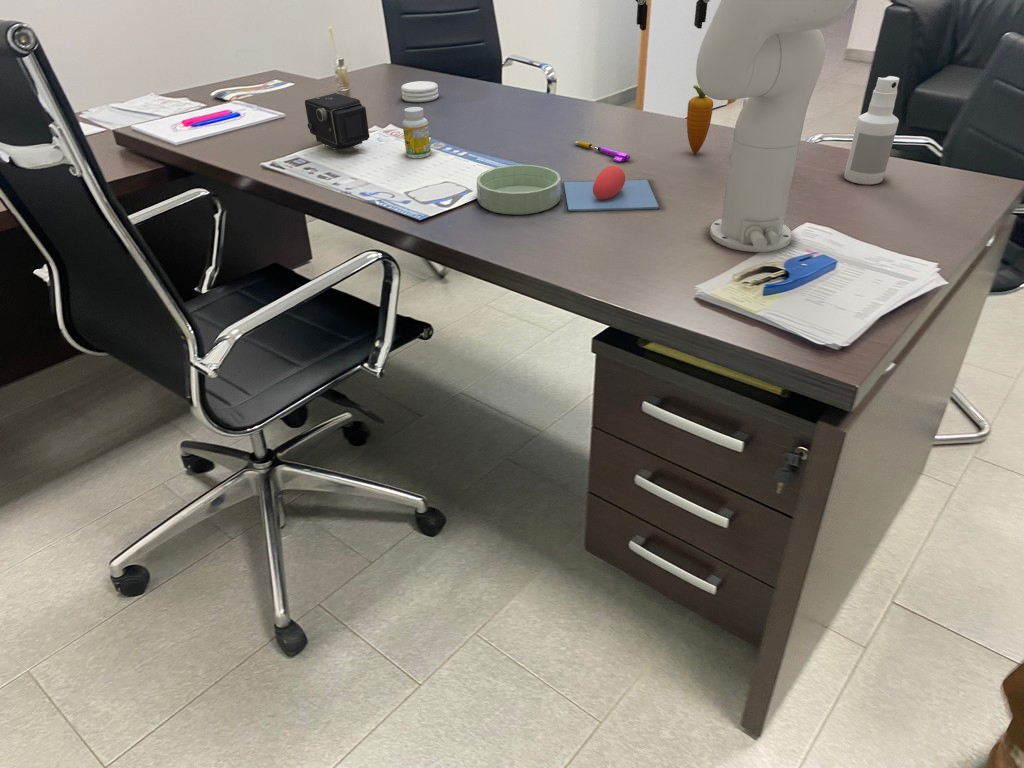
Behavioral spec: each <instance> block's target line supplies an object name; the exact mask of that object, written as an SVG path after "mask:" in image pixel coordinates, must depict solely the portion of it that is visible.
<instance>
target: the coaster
mask: <svg viewBox="0 0 1024 768" xmlns="http://www.w3.org/2000/svg"><path fill="white" fill-rule="evenodd" d="M400 90H401V95H402V96H401V99H402V100H403V101H405V102H409V103H426V102H431V101H435V100H437V99H438V98H439V89H438V83H436V82H434V81H428V80H419V81H418V80H417V81H416V80H415V81H410V82H407V83H403V84H402V85H401V87H400Z"/></svg>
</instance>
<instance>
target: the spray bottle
mask: <svg viewBox="0 0 1024 768" xmlns="http://www.w3.org/2000/svg"><path fill="white" fill-rule="evenodd" d="M899 83H900V77H898V76H893V75H888V76H886V77H879V76H878V77H877V81H876V86H875V87H874V89H873V90H872V94H871V99H870V102H869V106H868V108H867V109H868V110H867V112H865V113H861V114H860V115H859V116H858V118H857V120H856V123H855V124H856V125H855V128H854V132H853V137H852V141H851V144H850V145H851V146H850V149H849V154H848V157H847V161H846V166H845V170H844V173H843V178H844V179H845V180H847V181H848V182H851V183H854V184H858V185H867V186H868V185H869V186H870V185H877V184H880V183H882V182H883V180H884V177H885V175H886V171H887V167H888V163H889V159H890V155H891V152H892V147H893V144H894V141H895V137H896V133H897V130H898V126H899V124H900V123H899V122H900V120H899V118H898V117H897V116H895V114H894V113H893V112H894V109H895V105H896V100H897V95H898V86H899Z"/></svg>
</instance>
